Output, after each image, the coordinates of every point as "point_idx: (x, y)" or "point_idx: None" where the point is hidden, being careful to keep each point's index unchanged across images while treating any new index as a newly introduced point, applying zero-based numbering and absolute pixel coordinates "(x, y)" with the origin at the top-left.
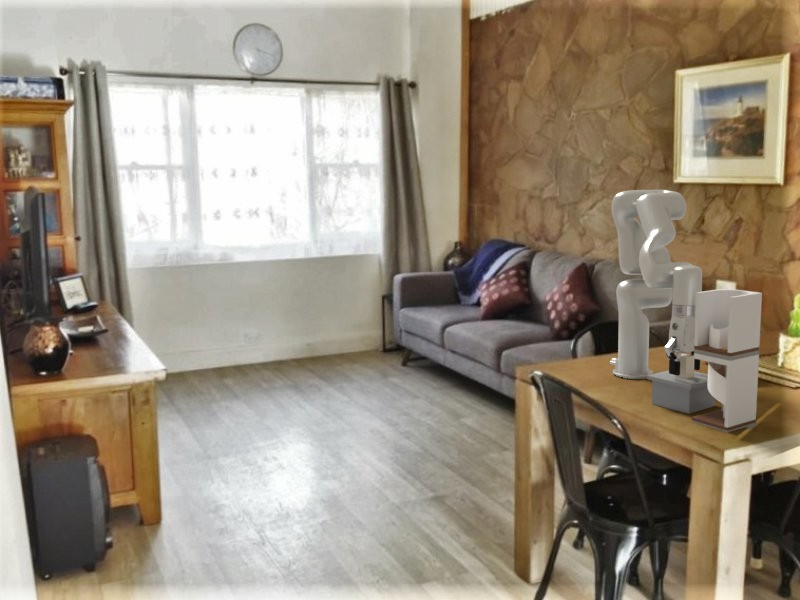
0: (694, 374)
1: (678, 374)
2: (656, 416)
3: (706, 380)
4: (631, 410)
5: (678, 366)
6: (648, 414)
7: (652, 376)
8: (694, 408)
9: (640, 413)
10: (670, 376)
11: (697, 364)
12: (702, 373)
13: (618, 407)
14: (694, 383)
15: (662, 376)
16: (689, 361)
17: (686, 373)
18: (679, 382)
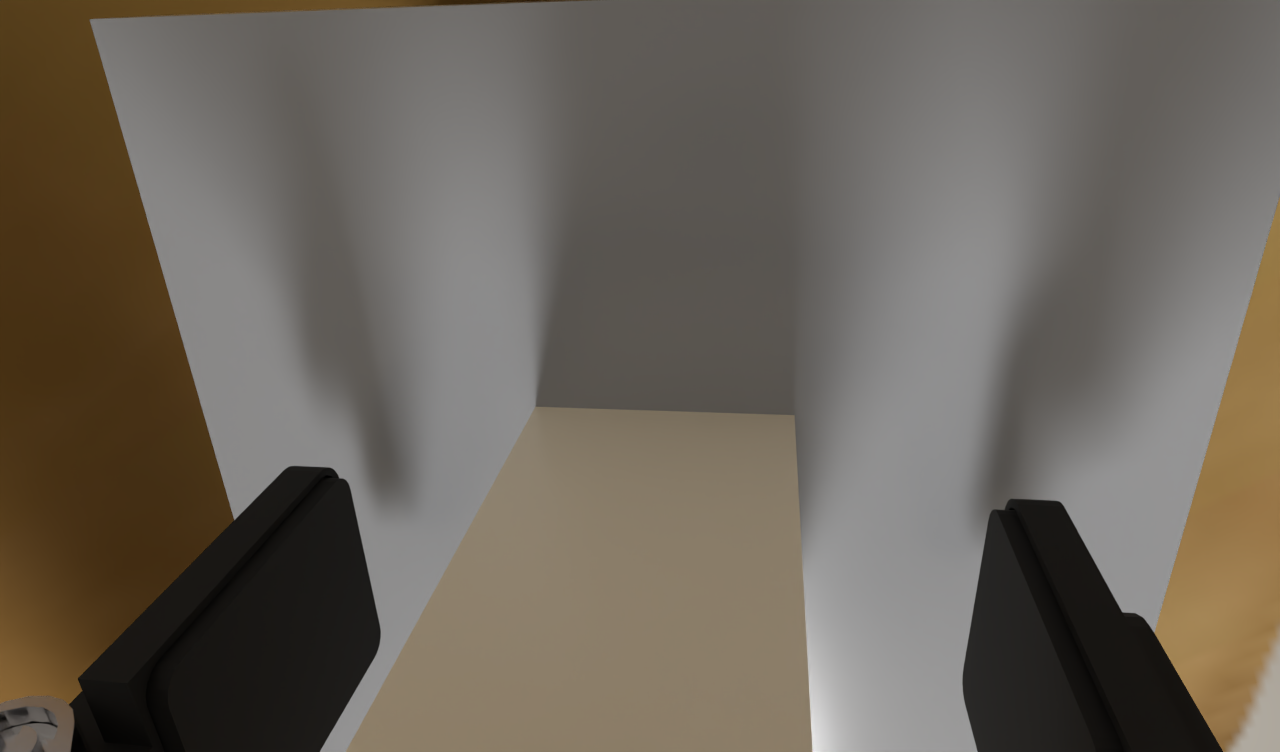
0: (409, 474)
1: (1060, 512)
2: (1266, 294)
3: (584, 53)
4: (1219, 577)
5: (1136, 660)
6: (1247, 394)
7: None
8: None
9: (1268, 467)
10: (859, 654)
11: (287, 557)
12: (238, 423)
13: (1203, 697)
14: (1039, 62)
15: (962, 729)
16: (647, 657)
17: (776, 472)
18: (1182, 334)
